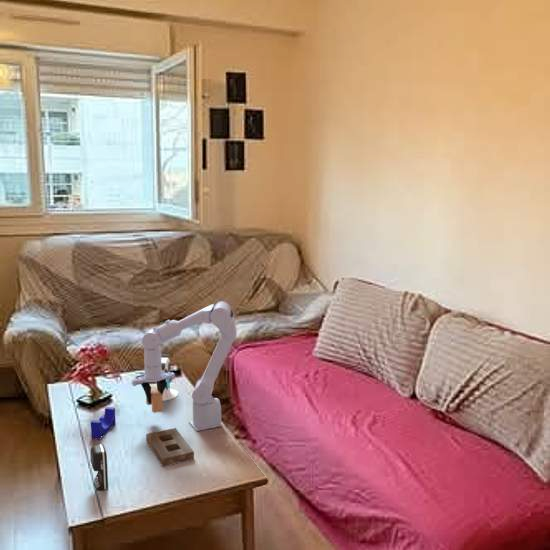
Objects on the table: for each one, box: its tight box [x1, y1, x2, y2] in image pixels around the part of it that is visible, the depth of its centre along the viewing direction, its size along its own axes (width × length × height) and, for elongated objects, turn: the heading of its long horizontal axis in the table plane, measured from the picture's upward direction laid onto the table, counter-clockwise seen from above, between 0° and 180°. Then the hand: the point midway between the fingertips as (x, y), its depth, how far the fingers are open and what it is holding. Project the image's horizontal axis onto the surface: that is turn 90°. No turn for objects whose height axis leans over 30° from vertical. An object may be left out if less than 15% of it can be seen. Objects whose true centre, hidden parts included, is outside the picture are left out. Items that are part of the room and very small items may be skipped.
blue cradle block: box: [90, 406, 117, 440], centre depth 201 cm, size 12×4×6 cm, turn 170°
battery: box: [89, 443, 109, 491], centre depth 168 cm, size 7×4×11 cm, turn 25°
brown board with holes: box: [145, 427, 195, 467], centre depth 189 cm, size 10×18×2 cm, turn 27°
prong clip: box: [145, 385, 163, 414], centre depth 205 cm, size 3×9×6 cm, turn 27°
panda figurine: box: [155, 353, 179, 402], centre depth 230 cm, size 12×11×15 cm
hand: (154, 401), depth 205 cm, fingers closed on prong clip, 3 cm apart
